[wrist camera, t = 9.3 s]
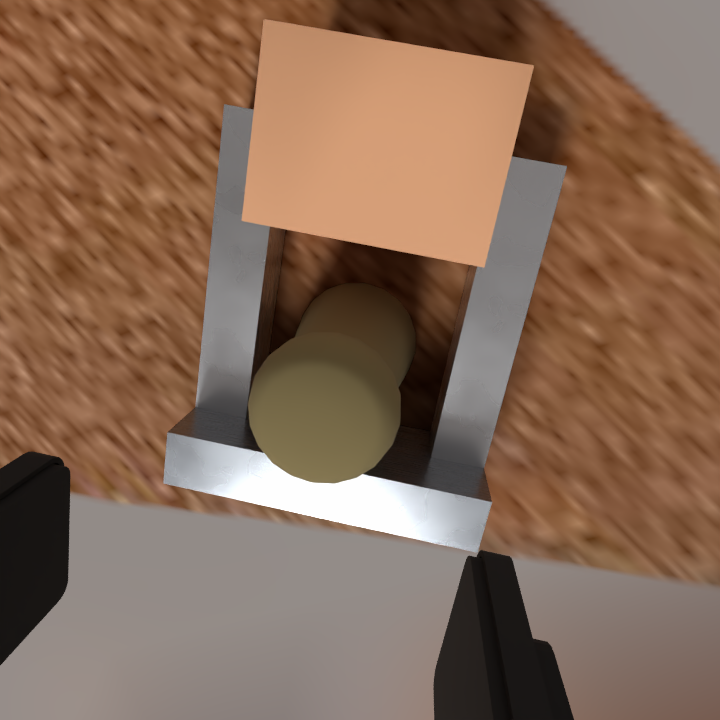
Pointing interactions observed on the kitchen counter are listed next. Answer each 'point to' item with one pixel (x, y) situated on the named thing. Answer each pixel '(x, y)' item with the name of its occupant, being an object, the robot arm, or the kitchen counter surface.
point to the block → (381, 141)
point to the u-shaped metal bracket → (411, 446)
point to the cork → (335, 386)
